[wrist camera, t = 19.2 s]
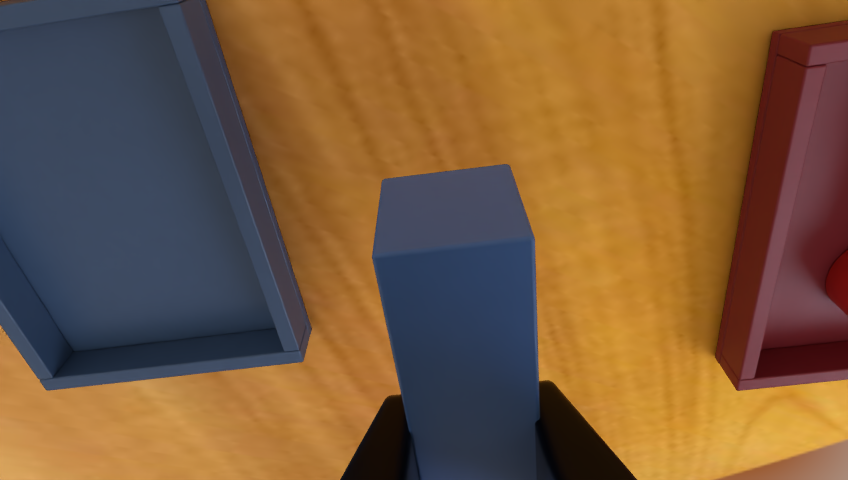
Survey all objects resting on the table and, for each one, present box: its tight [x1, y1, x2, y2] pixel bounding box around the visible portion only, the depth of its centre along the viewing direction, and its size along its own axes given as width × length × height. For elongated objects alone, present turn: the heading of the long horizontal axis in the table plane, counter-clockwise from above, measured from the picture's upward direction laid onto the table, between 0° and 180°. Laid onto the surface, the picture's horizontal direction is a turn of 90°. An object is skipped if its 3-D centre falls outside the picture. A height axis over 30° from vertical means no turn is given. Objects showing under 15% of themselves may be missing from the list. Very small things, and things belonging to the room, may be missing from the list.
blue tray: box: [0, 0, 312, 390], centre depth 18 cm, size 13×10×2 cm
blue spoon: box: [372, 164, 540, 480], centre depth 9 cm, size 8×3×2 cm, turn 7°
